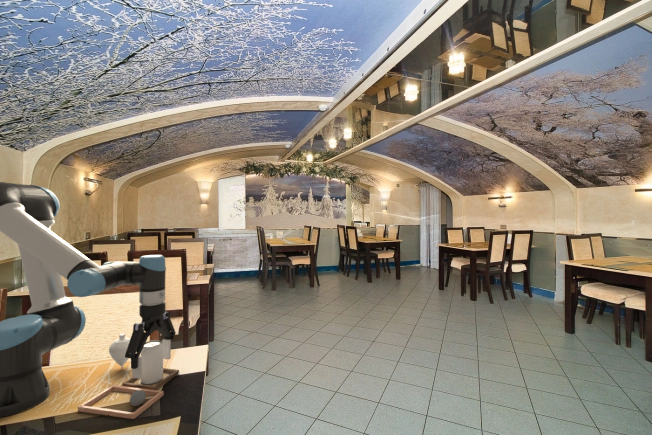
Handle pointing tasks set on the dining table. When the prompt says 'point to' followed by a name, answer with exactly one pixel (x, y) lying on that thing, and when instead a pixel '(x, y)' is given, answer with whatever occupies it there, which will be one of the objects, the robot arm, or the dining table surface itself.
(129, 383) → the brown square frame
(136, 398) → the ball
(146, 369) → the can
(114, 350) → the spinning top
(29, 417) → the dining table surface
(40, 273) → the robot arm
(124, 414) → the open picture frame
